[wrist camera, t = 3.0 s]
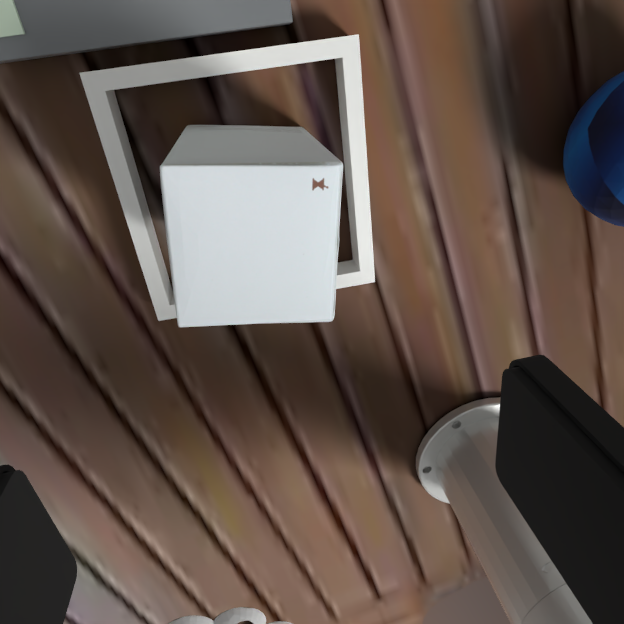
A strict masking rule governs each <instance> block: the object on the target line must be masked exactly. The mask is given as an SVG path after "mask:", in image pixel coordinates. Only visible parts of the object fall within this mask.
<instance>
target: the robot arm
mask: <svg viewBox="0 0 624 624" xmlns="http://www.w3.org/2000/svg"><path fill="white" fill-rule="evenodd" d="M416 471H417V475H418V477H419V479H420V482H421V484H422V486H423V487H424V489H425V490H426V491H427V493H429V494H430V495H431V496H433V497H434V498H436V499H438V500H440V501H442V502H445V503H449V504H451V506H452V508H453V510H454V512H455V514H456V516H457V518H458V520H459V522H460V524H461V526H462V528H463V530H464V532H465V534H466V536H467V538H468V540H469V542H470V544H471V546H472V548H473V550H474V552H475V554H476V556H477V558H478V560H479V562H480V564H481V566H482V568H483V570H484V572H485V574H486V576H487V577H488V579H489V581H490V583H491V585H492V587H493V589H494V591H495V593H496V595H497V597H498V599H499V601H500V603H501V605H502V607H503V609H504V611H505V613H506V615H507V617H508V619H509V621H510V623H511V624H624V428H623V427H622V426H621V425H620V424H619V423H618V422H617V421H616V420H615V419H614V418H612V417H611V416H610V415H609V414H608V413H607V412H606V411H605V410H604V409H603V408H602V407H600V406H599V405H598V404H597V403H596V402H595V401H594V400H593V399H592V398H591V397H589V396H588V395H587V394H586V393H585V392H584V391H583V390H582V389H581V388H580V387H579V386H577V385H576V384H575V383H574V382H573V381H572V380H571V379H570V378H569V377H568V376H567V375H565V374H564V373H563V372H562V371H561V370H560V369H559V368H558V367H557V366H556V365H555V364H553V363H552V362H551V361H550V360H549V359H548V358H547V357H545V356H544V355H536V356H532V357H527V358H522V359H517V360H514V361H512V362H511V363H510V366H509V369H506V370H504V372H503V375H502V387H501V397H497V398H486V399H481V400H476V401H473V402H470V403H468V404H465V405H462V406H460V407H458V408H457V409H455V410H453V411H451V412H450V413H448V414H447V415H445V416H444V417H443V418H441V419H440V420H439V421H438V422H437V423H436V424H435V425H434V426H433V427H432V428H431V429H430V430H429V431H428V433H427V434H426V435H425V437H424V438H423V440H422V442H421V444H420V446H419V448H418V452H417V455H416ZM76 576H77V565H76V561H75V558H74V556H73V555H72V553H71V551H70V550H69V548H68V546H67V545H66V543H65V541H64V539H63V538H62V536H61V534H60V533H59V531H58V529H57V528H56V526H55V524H54V523H53V521H52V519H51V517H50V516H49V514H48V512H47V511H46V509H45V507H44V506H43V504H42V502H41V501H40V499H39V497H38V495H37V494H36V492H35V490H34V489H33V487H32V485H31V484H30V482H29V480H28V479H27V477H26V475H25V474H24V473H23V472H22V471H20V470H17V471H15V469H14V468H13V467H12V466H10V465H2V466H0V624H63V622H64V619H65V615H66V612H67V608H68V605H69V602H70V598H71V595H72V591H73V588H74V584H75V581H76Z"/></svg>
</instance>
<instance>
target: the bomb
mask: <svg viewBox="0 0 624 624" xmlns="http://www.w3.org/2000/svg"><path fill="white" fill-rule="evenodd" d="M563 167H564V172H565V178H566V181H567V183H568V186H569V188H570V190H571V192H572V194H573V196H574V197H575V198H576V199H577V200H578V201H579V203H580V204H581V205H582V206H583V207H584V208H585V209H586V210H588V211H589V212H591V213H592V214H594V215H595V216H597V217H599V218H600V219H602V220H604V221H607V222H609V223H612V224H614V225H618V226H623V227H624V71H623V72H621V73H620V74H618V75H616V76H614V77H613V78H611V79H609V80H608V81H607V82H605V83H604V84H603V85H602V86H601V87H600V88H599V89H598V90H597V91H596V92H595V93H594V94H593V95H592V96H591V97H590V98H589V99H588V100H587V101H586V102H585V104H584V105H583V106H582V107H581V108H580V110H579V111H578V112H577V114H576V116H575V118H574V120H573V122H572V124H571V126H570V128H569V130H568V134H567V138H566V142H565V146H564V155H563Z"/></svg>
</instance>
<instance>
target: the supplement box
mask: <svg viewBox="0 0 624 624" xmlns="http://www.w3.org/2000/svg"><path fill="white" fill-rule="evenodd" d="M342 176H343V163H342V162H341V161H340V160H339V159H338V158H337V157H336V156H334V155H333V154H332V153H331V152H330V151H329V150H328V149H327V148H325V147H324V146H323V145H322V144H321V143H320V142H319V141H318V140H316V139H315V138H314V137H313V136H312V135H311V134H310V133H308V132H307V131H306V130H305V129H304V128H303V127H284V126H248V125H187V126H186V128H185V129H184V131H183V132H182V134H181V135H180V137H179V138H178V140H177V142H176V143H175V145H174V146H173V148H172V149H171V151H170V153H169V154H168V155H167V157H166V159H165V160H164V162H163V163H162V164H161V165H160V180H161V191H162V200H163V209H164V218H165V227H166V236H167V245H168V253H169V261H170V269H171V277H172V285H173V294H174V302H175V309H176V316H177V323H178V326H179V327H197V326H218V325H239V324H260V323H304V322H331V321H333V319H334V315H335V300H336V279H337V262H338V250H339V225H340V208H341V193H342Z"/></svg>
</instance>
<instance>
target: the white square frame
mask: <svg viewBox="0 0 624 624" xmlns="http://www.w3.org/2000/svg"><path fill="white" fill-rule="evenodd" d="M329 59H335V66H336V77H337V88H338V100H339V111H340V122H341V134H342V145H343V156H344V167H345V179H346V190H347V201H348V213H349V224H350V235H351V247H352V258H353V260H349V261H344V262H338V263H337V279H336V289H339V288H345V287H350V286H356V285H361V284H367V283H372V282H375V274H374V258H373V243H372V228H371V213H370V198H369V182H368V167H367V152H366V137H365V121H364V106H363V91H362V76H361V60H360V45H359V34H358V35H351V36H344V37H336V38H329V39H322V40H314V41H307V42H300V43H293V44H285V45H278V46H271V47H264V48H256V49H249V50H242V51H235V52H227V53H220V54H213V55H205V56H198V57H191V58H184V59H176V60H169V61H162V62H155V63H147V64H140V65H133V66H125V67H118V68H111V69H104V70H96V71H89V72H82V73H79V74H80V77H81V80H82V83H83V86H84V89H85V93H86V96H87V99H88V102H89V105H90V108H91V111H92V115H93V118H94V121H95V124H96V127H97V130H98V133H99V136H100V140H101V143H102V146H103V149H104V152H105V155H106V158H107V162H108V165H109V168H110V171H111V174H112V177H113V180H114V183H115V187H116V190H117V193H118V196H119V199H120V202H121V205H122V209H123V212H124V215H125V218H126V221H127V224H128V227H129V230H130V234H131V237H132V240H133V243H134V246H135V249H136V252H137V256H138V259H139V262H140V265H141V268H142V271H143V274H144V277H145V281H146V284H147V287H148V290H149V293H150V296H151V299H152V303H153V306H154V309H155V312H156V315H157V318H158V321H162V320H167V319H173V318H177V316H176V309H175V302H174V294H173V290H172V287H171V283H170V280H169V277H168V273H167V270H166V266H165V263H164V259H163V256H162V253H161V249H160V246H159V242H158V239H157V236H156V232H155V229H154V225H153V222H152V218H151V215H150V212H149V208H148V205H147V201H146V198H145V194H144V191H143V188H142V184H141V181H140V177H139V174H138V171H137V167H136V164H135V160H134V157H133V153H132V150H131V147H130V143H129V140H128V136H127V133H126V130H125V126H124V123H123V119H122V116H121V112H120V109H119V106H118V102H117V99H116V95H115V92H114V90H116V89H123V88H130V87H137V86H144V85H151V84H159V83H166V82H173V81H180V80H187V79H194V78H201V77H208V76H215V75H222V74H229V73H237V72H244V71H251V70H258V69H265V68H272V67H279V66H286V65H293V64H300V63H307V62H314V61H322V60H329Z"/></svg>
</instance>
